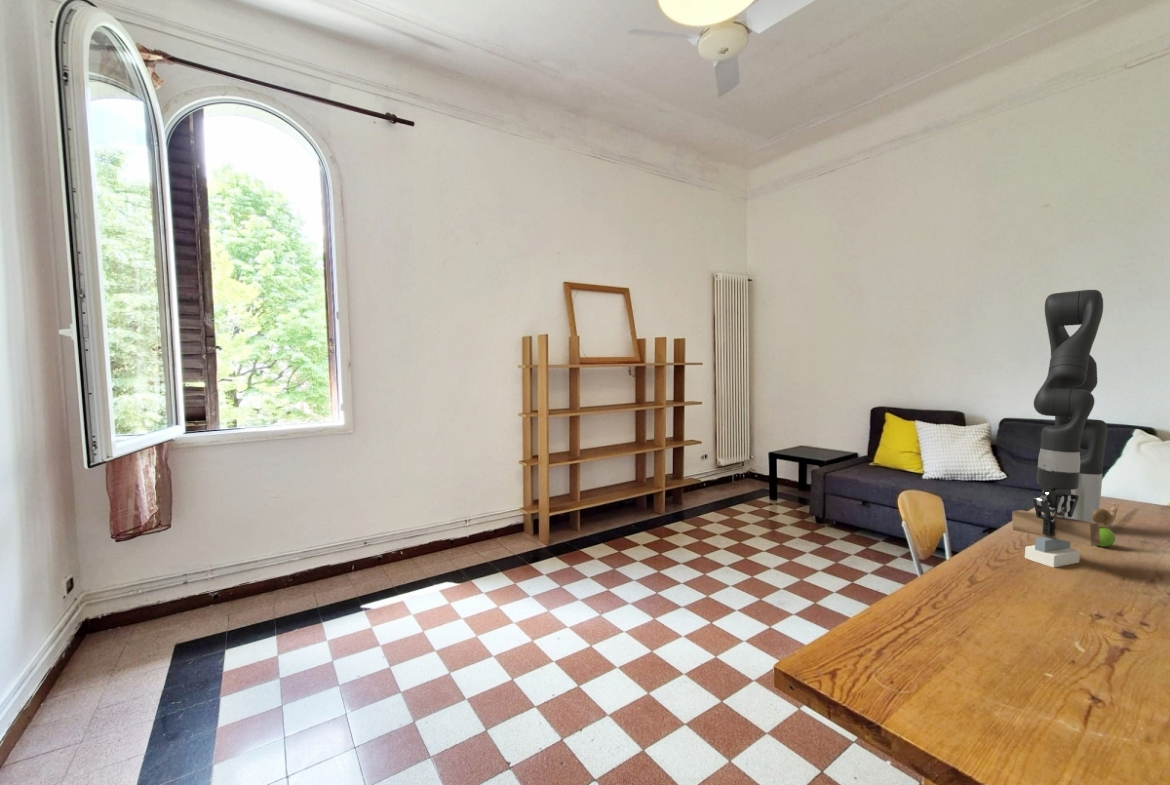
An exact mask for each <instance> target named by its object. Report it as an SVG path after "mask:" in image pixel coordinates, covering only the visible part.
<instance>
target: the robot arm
mask: <svg viewBox="0 0 1170 785" xmlns="http://www.w3.org/2000/svg"><path fill="white" fill-rule="evenodd" d="M1103 312H1104V298H1103V295H1102V292H1101V291H1100V290H1098V289H1084V290H1083V289H1082V290H1075V291H1073V290H1072V291H1062V292H1056V293H1051V294H1049V295H1048V296H1047V297H1046V298H1045V300H1044V316H1045V323H1046V328H1047V334H1048V339H1049V340H1048V341H1049V345H1050V359H1049V364H1048V365H1049V367H1048V373H1047V377H1046V379H1045V381H1044V382H1043V384H1042V385H1041V387H1040V388H1039V390H1038V391H1037V393H1036V394H1035V397H1034V399H1033V408H1034V409H1035V411H1036V412H1037V413H1038V414H1040V415H1042V416H1045V417H1047V416H1048V417H1054V425H1047V426H1044V427H1043V428H1042V429H1041V434H1040V435H1041V436H1040V437H1041V438H1040V439H1041V440H1040V450H1039V454H1038V458H1037V460H1038V461H1037V470H1036V471H1037V473H1036V484H1038V485H1040V486H1042V490H1041V493H1040V497H1037V496H1034V497H1033V500H1032V501H1033V506H1034V510H1035V513H1036V515H1037V518H1041V519H1042V520H1043V534H1044V535H1047V536H1050V537H1053V536H1054V533H1055V522H1056V518H1057V516H1058V517H1064V518H1070V519H1076V520H1082V521H1088V522H1094V521H1093V520H1092V517H1091V516H1092V513H1093V512H1094V511H1095V510H1097V509H1101V500H1102V499H1101V498H1102V484H1103V472H1104V460H1105V452H1106V446H1107V439H1108V424H1107V423H1106V422H1105V420H1101V419H1092V418H1089V416H1090V415H1091V412H1092V411H1093V409H1094V405H1095V396H1094V395H1093V394H1092V392H1093V391H1094V389H1095V388H1096V387H1097V385H1098V366H1097V362H1096V360H1095V359H1094V357H1093V356H1092V355H1091V350H1092V347H1093V344H1094V342H1095V339H1096V336H1097V334H1098V330H1099V327H1100V324H1101V321H1102V319H1103V318H1102V317H1103V314H1104V313H1103ZM1065 326H1066V327H1069V326H1079V327H1078V329H1077V330H1076V331H1075V332H1074V333H1073V334H1072V335H1071V336H1070V335H1069V332H1068V331H1067V329H1066V327H1065ZM1081 450H1088V452H1087V453H1086V454H1084V455H1082V456H1081V453H1080V451H1081ZM1094 523H1095V522H1094Z"/></svg>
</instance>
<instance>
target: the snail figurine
mask: <svg viewBox="0 0 1170 785" xmlns="http://www.w3.org/2000/svg"><path fill="white" fill-rule="evenodd" d="M1113 505H1114V506H1112V507H1110V511H1108V510H1107V509H1105V508H1100V509H1097V510H1095V511H1094V512H1093V513H1092V516H1091V517H1092V520H1093V521H1094V522H1095V523H1099V531H1100V545H1096V546H1098V547H1103V548H1105V547H1110V546H1112V545H1114V543H1115V542H1116V534H1115V533H1114V531H1112V530H1111V529H1109V528H1108V527H1110V526H1111V525H1113V523H1114V521H1115V519H1116V518H1117V517H1116V516H1117V512H1118V511H1119V509H1118V508H1119V506H1120V504H1119V503H1116V502H1113ZM1116 506H1117V507H1116Z"/></svg>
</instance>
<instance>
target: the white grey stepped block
mask: <svg viewBox="0 0 1170 785" xmlns="http://www.w3.org/2000/svg"><path fill="white" fill-rule="evenodd" d="M1034 542H1035V544H1034V545H1027V546H1025V550H1024V558H1025V559H1027V560H1030V561H1033V562H1036V563H1039V564H1042V565H1045V566H1048V567H1050V568H1058V567H1063V566H1064V567H1065V566H1069V565H1074V564H1079V563H1080V558H1081V557H1080V556H1081V550H1079V549H1078V550H1077V549H1075V548H1072V547H1071V542H1069V541H1064V540H1059V539H1054V538H1049V537H1044V536H1039V537H1035V541H1034Z"/></svg>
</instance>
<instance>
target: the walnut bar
mask: <svg viewBox="0 0 1170 785" xmlns="http://www.w3.org/2000/svg"><path fill="white" fill-rule="evenodd" d="M1011 515H1012V530H1013V531H1016V532H1021V533H1025V534H1031V535H1036V536H1039V537H1049V538H1054V539H1059V540H1064V541H1069V542H1070V543H1075V544H1080V545H1085V546H1089V547H1094V546H1097V545H1100V531H1099V523H1094V522H1088V521H1082V520H1076V519H1070V518H1064V517H1058V516H1057V518H1056V522H1055V533H1054V536H1053V537H1050V536H1047V535H1044V534H1043V520H1042V519H1041V518H1037V515H1036V512H1034V511H1029V510H1028V511H1027V510H1022V509H1020V510H1013V511H1012V512H1011Z"/></svg>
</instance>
